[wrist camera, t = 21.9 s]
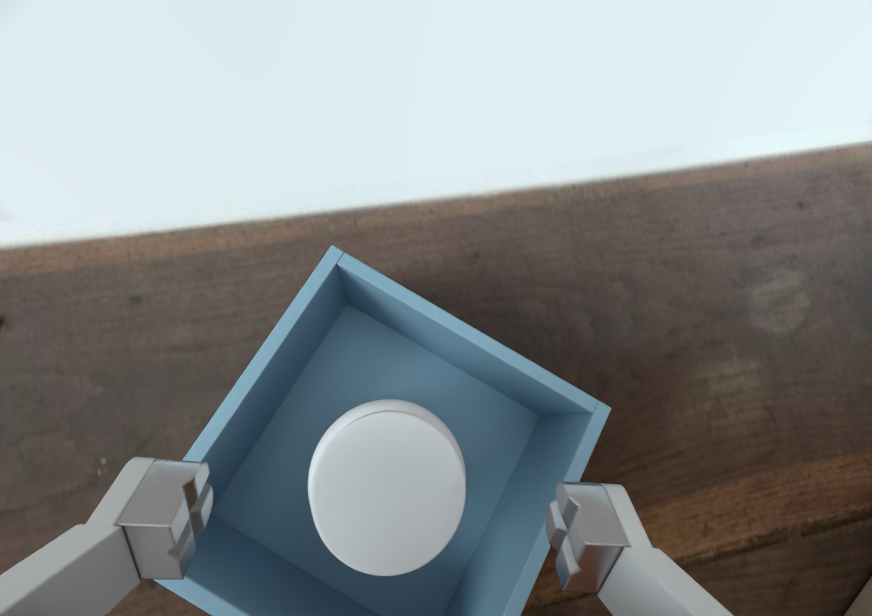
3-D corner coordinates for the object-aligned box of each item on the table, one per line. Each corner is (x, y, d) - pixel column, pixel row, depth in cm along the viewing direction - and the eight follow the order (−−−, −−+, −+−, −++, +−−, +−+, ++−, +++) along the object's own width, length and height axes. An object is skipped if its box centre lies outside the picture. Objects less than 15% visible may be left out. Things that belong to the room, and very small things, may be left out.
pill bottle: (306, 445, 23) (254, 461, 13) (403, 382, 24) (418, 357, 15) (367, 548, 22) (356, 644, 13) (464, 478, 24) (521, 516, 14)
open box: (195, 516, 22) (114, 557, 15) (344, 291, 26) (331, 244, 19) (432, 659, 22) (455, 764, 15) (550, 411, 25) (612, 407, 19)
